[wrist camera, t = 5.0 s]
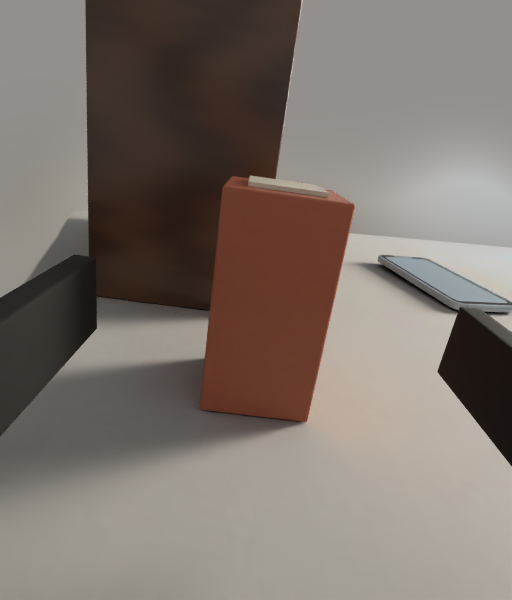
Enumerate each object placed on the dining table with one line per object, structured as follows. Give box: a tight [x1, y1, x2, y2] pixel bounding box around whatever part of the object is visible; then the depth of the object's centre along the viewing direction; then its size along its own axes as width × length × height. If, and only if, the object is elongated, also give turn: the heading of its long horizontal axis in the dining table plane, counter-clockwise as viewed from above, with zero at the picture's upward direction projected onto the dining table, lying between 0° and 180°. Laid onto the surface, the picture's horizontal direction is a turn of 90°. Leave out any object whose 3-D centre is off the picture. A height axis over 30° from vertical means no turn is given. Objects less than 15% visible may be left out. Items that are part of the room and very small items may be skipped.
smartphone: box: [378, 255, 512, 312], centre depth 44 cm, size 7×1×15 cm
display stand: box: [86, 0, 303, 310], centre depth 36 cm, size 12×26×28 cm, turn 0°
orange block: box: [200, 176, 355, 422], centre depth 19 cm, size 5×5×10 cm
